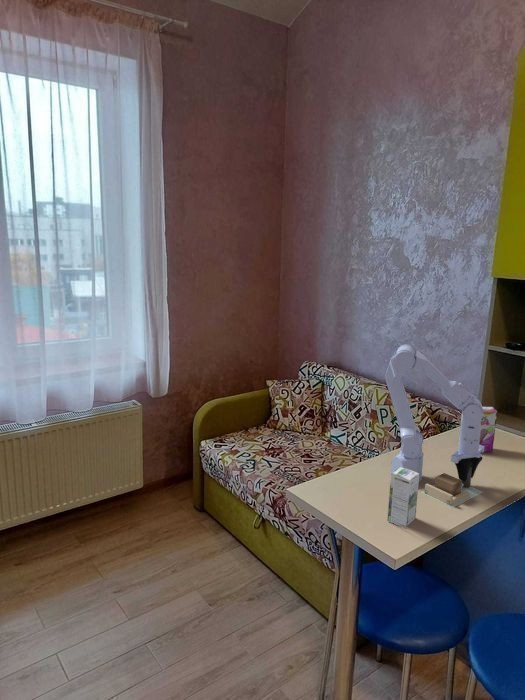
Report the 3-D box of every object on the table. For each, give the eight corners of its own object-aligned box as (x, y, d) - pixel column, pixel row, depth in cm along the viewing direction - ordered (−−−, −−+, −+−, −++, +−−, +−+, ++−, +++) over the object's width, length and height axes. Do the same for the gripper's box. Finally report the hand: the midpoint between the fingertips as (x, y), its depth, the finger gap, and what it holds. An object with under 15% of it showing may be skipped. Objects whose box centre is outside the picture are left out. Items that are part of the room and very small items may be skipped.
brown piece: (451, 500, 144) (453, 481, 143) (434, 492, 149) (435, 473, 147) (476, 487, 151) (478, 469, 150) (459, 480, 156) (460, 462, 155)
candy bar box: (461, 452, 180) (465, 409, 176) (457, 446, 185) (461, 405, 181) (493, 453, 179) (498, 410, 175) (488, 447, 184) (492, 406, 180)
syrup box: (396, 513, 139) (399, 466, 136) (416, 520, 135) (419, 472, 132) (386, 521, 135) (389, 473, 132) (407, 529, 131) (410, 479, 128)
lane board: (452, 510, 140) (453, 498, 139) (420, 494, 149) (421, 483, 148) (483, 494, 149) (484, 482, 148) (451, 480, 158) (452, 469, 157)
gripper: (467, 447, 142) (463, 490, 145) (495, 436, 150) (490, 476, 153) (446, 439, 148) (443, 480, 151) (474, 429, 156) (470, 468, 159)
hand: (465, 478), depth 152 cm, fingers closed on brown piece, 3 cm apart
